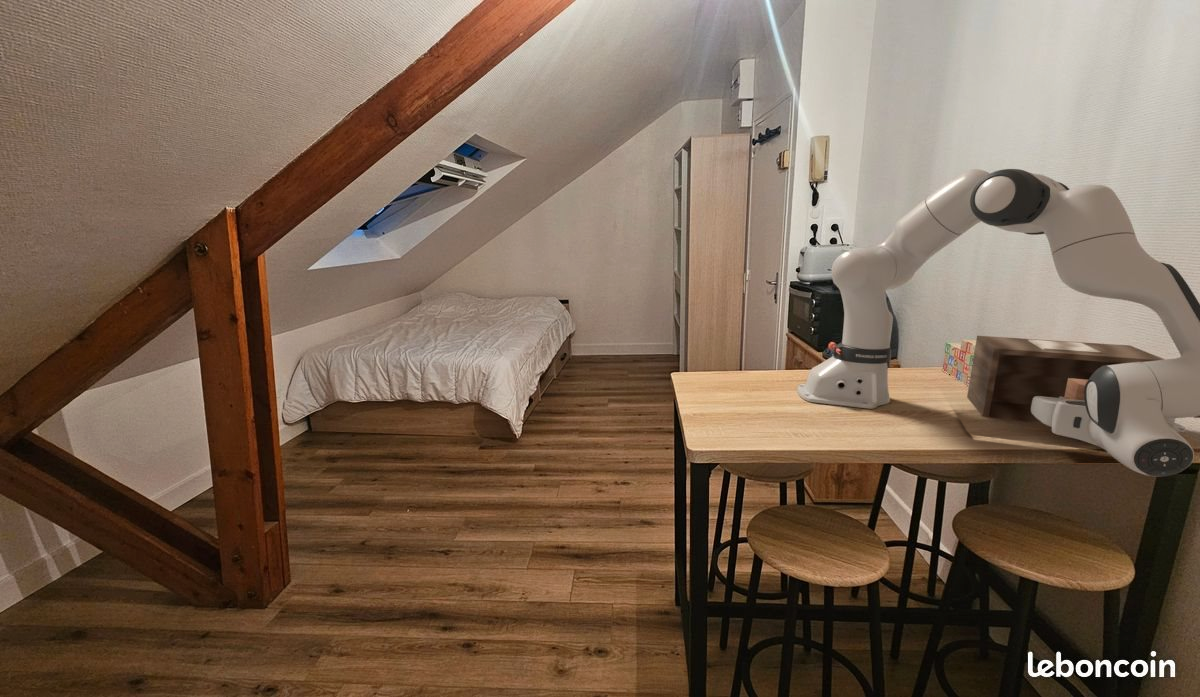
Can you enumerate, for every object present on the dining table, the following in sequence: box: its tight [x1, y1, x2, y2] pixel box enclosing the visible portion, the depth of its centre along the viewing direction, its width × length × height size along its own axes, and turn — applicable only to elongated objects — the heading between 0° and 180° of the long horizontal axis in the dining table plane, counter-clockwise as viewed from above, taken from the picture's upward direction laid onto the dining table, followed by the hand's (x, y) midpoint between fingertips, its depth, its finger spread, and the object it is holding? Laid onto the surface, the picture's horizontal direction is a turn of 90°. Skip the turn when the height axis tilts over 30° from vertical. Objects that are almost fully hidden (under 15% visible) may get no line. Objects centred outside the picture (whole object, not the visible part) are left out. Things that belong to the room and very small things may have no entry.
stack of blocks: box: [942, 339, 976, 387], centre depth 151 cm, size 21×6×12 cm, turn 170°
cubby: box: [966, 335, 1166, 424], centre depth 121 cm, size 29×15×18 cm, turn 67°
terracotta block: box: [1064, 378, 1088, 400], centre depth 108 cm, size 5×5×10 cm
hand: (1082, 402), depth 109 cm, fingers closed on terracotta block, 5 cm apart
